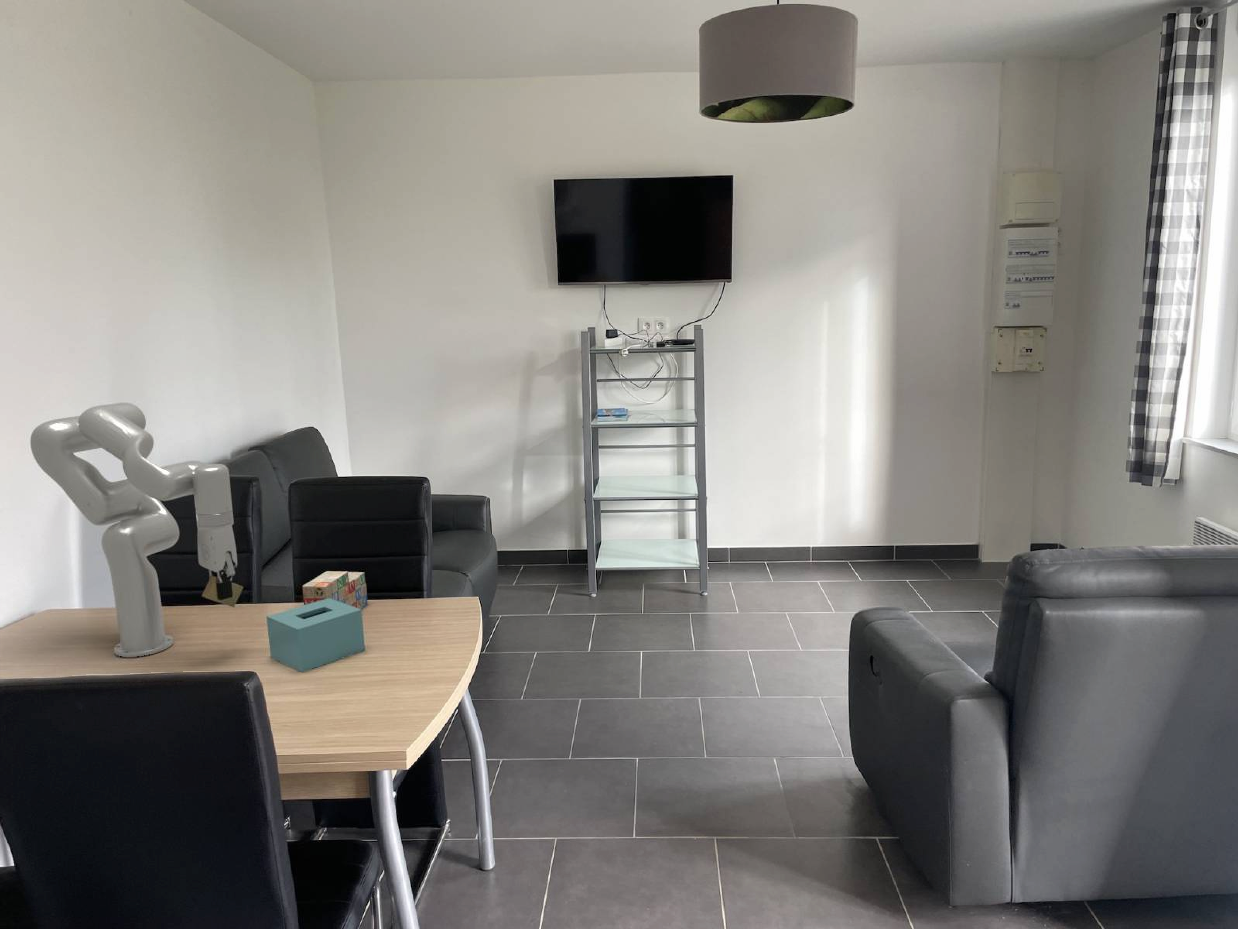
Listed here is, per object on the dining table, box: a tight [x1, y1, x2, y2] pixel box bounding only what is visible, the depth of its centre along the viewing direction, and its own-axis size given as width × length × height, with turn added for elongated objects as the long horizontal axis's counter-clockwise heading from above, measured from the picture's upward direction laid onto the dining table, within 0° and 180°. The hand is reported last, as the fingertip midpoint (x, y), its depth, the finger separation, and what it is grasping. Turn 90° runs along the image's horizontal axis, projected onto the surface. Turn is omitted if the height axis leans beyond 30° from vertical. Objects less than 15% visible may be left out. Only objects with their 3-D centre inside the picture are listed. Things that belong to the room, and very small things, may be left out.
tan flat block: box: [201, 576, 244, 608], centre depth 203 cm, size 2×5×7 cm
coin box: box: [266, 598, 366, 673], centre depth 206 cm, size 14×16×10 cm
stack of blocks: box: [302, 570, 368, 610], centre depth 230 cm, size 21×6×12 cm, turn 170°
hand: (222, 596), depth 203 cm, fingers closed on tan flat block, 2 cm apart
